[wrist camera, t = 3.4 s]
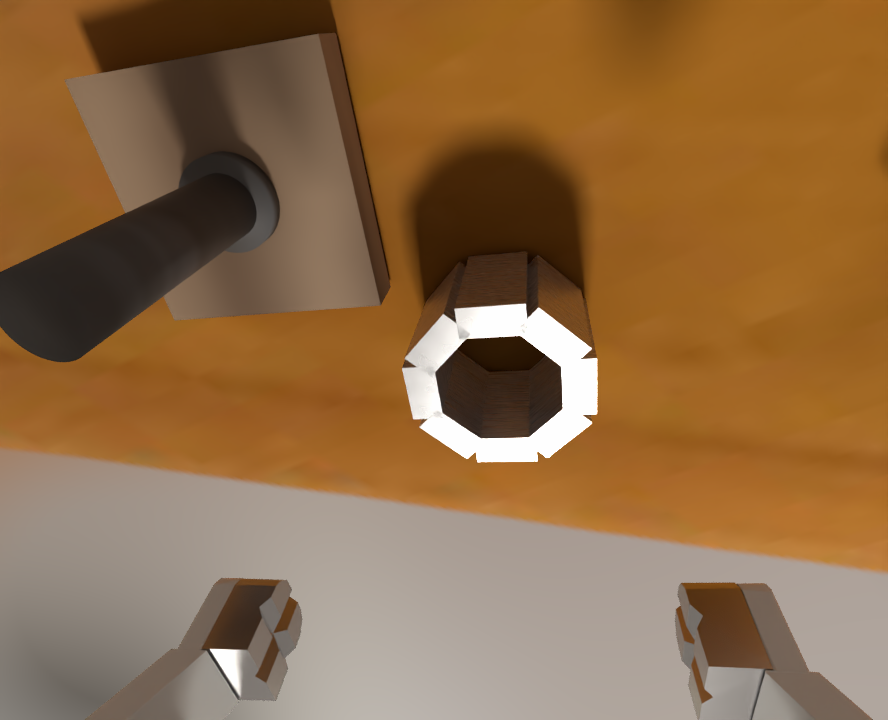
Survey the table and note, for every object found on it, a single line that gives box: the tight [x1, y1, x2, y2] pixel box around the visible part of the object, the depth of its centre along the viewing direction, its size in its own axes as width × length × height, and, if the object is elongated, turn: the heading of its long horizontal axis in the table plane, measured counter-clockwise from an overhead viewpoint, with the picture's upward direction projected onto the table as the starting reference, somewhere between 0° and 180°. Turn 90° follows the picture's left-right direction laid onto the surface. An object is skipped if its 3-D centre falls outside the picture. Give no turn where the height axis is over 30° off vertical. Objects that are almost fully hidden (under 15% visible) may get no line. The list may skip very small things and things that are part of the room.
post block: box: [0, 33, 390, 362], centre depth 14 cm, size 8×8×10 cm
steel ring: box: [402, 251, 597, 462], centre depth 18 cm, size 6×6×4 cm
